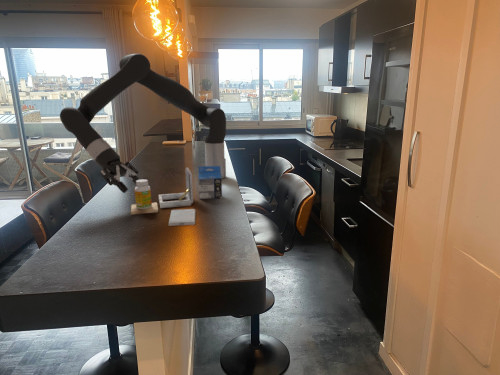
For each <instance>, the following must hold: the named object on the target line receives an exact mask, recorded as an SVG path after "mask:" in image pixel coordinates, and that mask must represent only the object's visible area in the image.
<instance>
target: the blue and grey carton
mask: <svg viewBox="0 0 500 375" xmlns="http://www.w3.org/2000/svg"><path fill="white" fill-rule="evenodd" d="M209 168H210V169H213V171H206V169H209ZM197 176H198V196H199V197H198V198H199V200H207V199H208V200H210V199H223V191H222V190H223V185H222V183H223V182H222V178H221V170H220V166H206V165H205V166H198V175H197Z"/></svg>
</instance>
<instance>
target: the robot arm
mask: <svg viewBox="0 0 500 375" xmlns="http://www.w3.org/2000/svg"><path fill="white" fill-rule="evenodd" d="M135 83H138V84H139V85H141V86H144V87H146V88H147V89H149V91H152V92H153V93H155V94H156V95H157V96H159V97H160V98H161V99H163V100H165V101H166V102H168V103H169V104H171V105H172V106H174V107H175V108H178V109H180V111H183V112H184V113H186V114H189V115H190V116H192V117H193V118H194V119H195V120H197V121H198V122H199V123H201V124H202V125H203V126H205V127H206V128H208V129H209V132H208V134H207V135H205V137H204V155H205V157H204V158H205V166H220V170H221V178H222V179H227V167H226V166H227V164H226V161H227V160H226V158H225V138H226V136H227V135H226V134H227V117H226V113H225V111H224V110H223V109H222V108H220V107H219V108H217V107H209V106H207V105H206V104H203V103H201V102H200V101H198V100H197V99H196V97H195V96H194V94H193V93H192V92H191V91H190V89H188V88H187V87H185V86H184V85H183V84H181V83H179V82H178V81H176V80H174V79H172V78H170V77H168V76H165V75H162V74H159V73H157V72H155V70H153V69H151V63H150V60H149V59H148V57H147V56H145V55H143V54H141V53H130V54H127V55H124V56H123V57H122V58H120V60H119V70H118V71H117V72H115V74H113V75H112V76H111V77H109V78H107V79H106V80H104V81H103V82H101V83H100V84H98V85H97V86H95V87H94V88H92V89H91V90H90V91H88V93H86V94H85V95H84V96H83V97H82V98H81V99H80V102H79V107H77V108H76V107H73V106H66V107H64V108H62V109H61V111H60V114H59V119H60V122H61V123H62V125H63V127H64V128H65V130H67V131H68V132H69V133H72V134H73V135H74V136H75V138H76V140H77V141H78V143H79V145H81V147H82V148H83V149H84V150H85V151H86V152H87V153H88V156H90V157H91V159H92V160H93V161H94V162H95V163H96V164H97V165H98V167H100V169H101V171H100V172H99V174H100V175H101V177H102V178H103V179H104V180H105V182H106V183H107V184H108V185H109V186H113V185H114V186H116V187H117V189H118V190H120V191H121V193H123V194H124V193H125V194H126V193H127V191H129V187H128V186H127V185H126V184H125V183H124V182H123V181H122V180H121V178H123V177H124V178H125V179H127V178H128V179H130V180H132V182H133V184H135V185H136V181H137V180H141V179H140V178H139V176H138V174H139V173H140V172H139V171H138V170H137V168H136V167H134V165H132V164H131V162H129V161H126V162H125V163H123V162H122V161H121V156H120V155H119V154H118V153H117V151H116V150H115V149H114V148H113V147H112V146H111V144H109V143H108V142H107V140H105V139H104V138H103V137H102V136H101V135H100V134H99V133H98V132H97V130H95V129H94V128H93V126H92V125H91V124H90V123H91V122H92V121H93V120H94V118H95V117H96V115H97V114H98V113H99V112H100V111H102V110H103V109H104V108H105V107H106V106H107V105H109V104H110V103H111V102H112V101H113V100H114V99H115V98H117V96H119V95H120V94H121V93H123V91H125V90H126V89H128V88H130V86H132V85H134V84H135ZM206 171H213V169H210V168H209V169H206Z"/></svg>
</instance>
